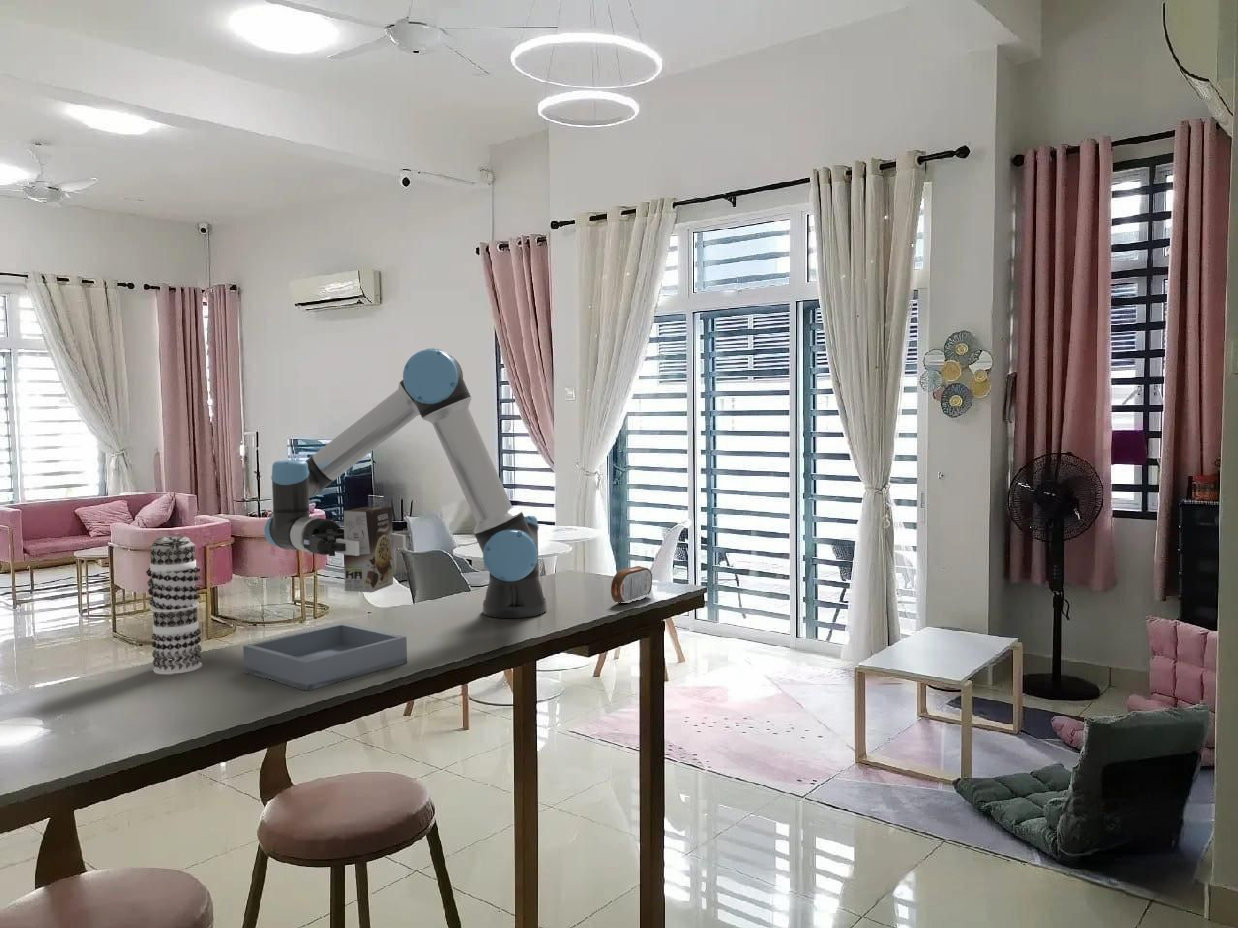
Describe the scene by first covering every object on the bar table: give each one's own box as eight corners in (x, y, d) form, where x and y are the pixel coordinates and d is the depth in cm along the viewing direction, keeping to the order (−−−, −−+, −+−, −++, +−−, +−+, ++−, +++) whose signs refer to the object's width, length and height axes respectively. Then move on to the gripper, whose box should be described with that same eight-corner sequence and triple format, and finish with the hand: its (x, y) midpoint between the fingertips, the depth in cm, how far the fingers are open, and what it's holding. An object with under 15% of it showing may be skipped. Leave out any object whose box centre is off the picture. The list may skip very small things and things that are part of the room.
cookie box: (373, 593, 183) (372, 510, 182) (343, 591, 185) (342, 510, 184) (394, 584, 192) (393, 505, 191) (366, 583, 193) (364, 505, 192)
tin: (644, 595, 241) (644, 563, 240) (654, 596, 239) (654, 564, 238) (609, 606, 229) (609, 571, 228) (620, 607, 227) (619, 573, 226)
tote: (343, 646, 192) (342, 622, 192) (407, 662, 180) (406, 636, 180) (244, 671, 175) (243, 645, 175) (306, 690, 163) (305, 662, 163)
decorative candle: (179, 676, 173) (174, 542, 171) (139, 673, 175) (133, 540, 174) (214, 663, 181) (209, 535, 180) (175, 660, 184) (170, 533, 182)
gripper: (363, 546, 208) (427, 556, 194) (267, 560, 190) (331, 572, 176) (362, 513, 208) (427, 520, 194) (266, 523, 190) (330, 532, 176)
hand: (381, 545), depth 185 cm, fingers closed on cookie box, 10 cm apart
